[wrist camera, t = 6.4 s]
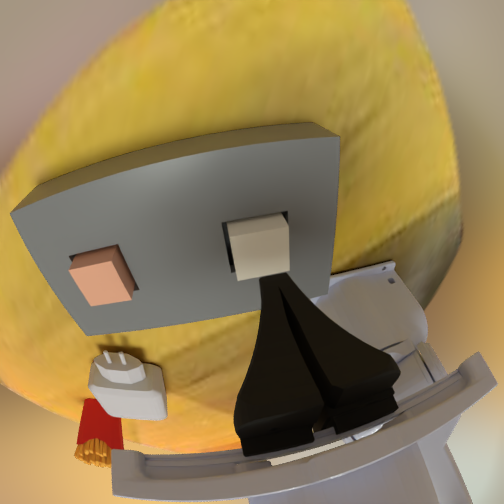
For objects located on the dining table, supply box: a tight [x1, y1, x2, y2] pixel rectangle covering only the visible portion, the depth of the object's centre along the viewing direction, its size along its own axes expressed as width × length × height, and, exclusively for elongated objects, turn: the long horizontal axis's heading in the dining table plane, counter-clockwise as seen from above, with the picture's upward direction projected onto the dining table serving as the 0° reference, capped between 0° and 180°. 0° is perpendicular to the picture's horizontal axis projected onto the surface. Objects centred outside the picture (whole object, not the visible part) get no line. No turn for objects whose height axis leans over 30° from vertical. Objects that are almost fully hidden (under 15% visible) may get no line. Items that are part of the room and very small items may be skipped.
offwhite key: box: [226, 212, 290, 281], centre depth 17 cm, size 3×3×3 cm
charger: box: [88, 350, 167, 420], centre depth 28 cm, size 5×9×15 cm
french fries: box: [74, 399, 124, 468], centre depth 31 cm, size 8×4×12 cm, turn 81°
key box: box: [10, 122, 340, 336], centre depth 17 cm, size 20×12×4 cm, turn 96°
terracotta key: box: [68, 244, 135, 306], centre depth 16 cm, size 3×3×3 cm
